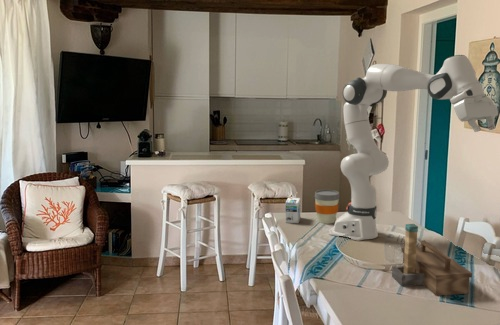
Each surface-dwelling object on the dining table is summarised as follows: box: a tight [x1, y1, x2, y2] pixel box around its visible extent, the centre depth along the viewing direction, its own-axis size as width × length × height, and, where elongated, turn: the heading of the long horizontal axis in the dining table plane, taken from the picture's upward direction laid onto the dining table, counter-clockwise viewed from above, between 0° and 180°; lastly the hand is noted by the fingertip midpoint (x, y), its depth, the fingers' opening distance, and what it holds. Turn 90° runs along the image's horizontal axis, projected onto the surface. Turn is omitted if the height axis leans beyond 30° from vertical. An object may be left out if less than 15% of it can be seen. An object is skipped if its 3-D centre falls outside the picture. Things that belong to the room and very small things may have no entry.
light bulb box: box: [285, 196, 301, 224], centre depth 255 cm, size 11×7×11 cm, turn 168°
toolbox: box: [391, 240, 473, 296], centre depth 181 cm, size 21×27×12 cm
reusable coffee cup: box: [314, 189, 340, 225], centre depth 253 cm, size 13×13×15 cm
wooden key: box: [403, 223, 419, 274], centre depth 180 cm, size 4×4×21 cm
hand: (485, 130), depth 178 cm, fingers open, 8 cm apart
